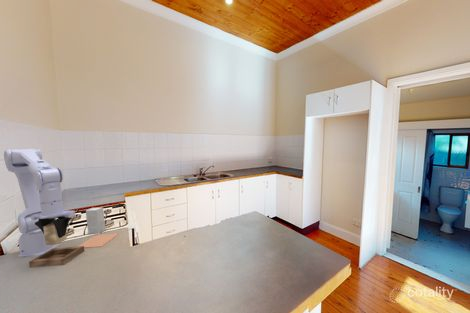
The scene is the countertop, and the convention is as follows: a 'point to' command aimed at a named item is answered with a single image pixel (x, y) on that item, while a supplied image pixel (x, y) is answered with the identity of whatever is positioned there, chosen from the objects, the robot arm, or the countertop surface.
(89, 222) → the skincare box
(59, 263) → the walnut pocket
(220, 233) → the countertop surface
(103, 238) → the terracotta tile
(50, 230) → the maple block
